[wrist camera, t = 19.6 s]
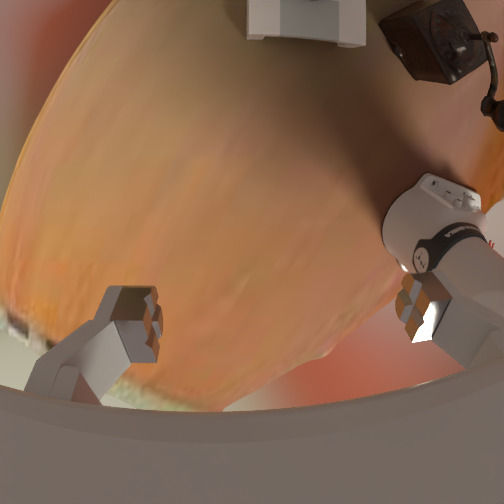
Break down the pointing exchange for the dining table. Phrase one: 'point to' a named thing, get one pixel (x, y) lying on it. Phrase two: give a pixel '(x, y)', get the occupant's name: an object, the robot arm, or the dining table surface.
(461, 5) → the manual coffee grinder
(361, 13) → the keyhole board
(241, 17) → the dining table surface
